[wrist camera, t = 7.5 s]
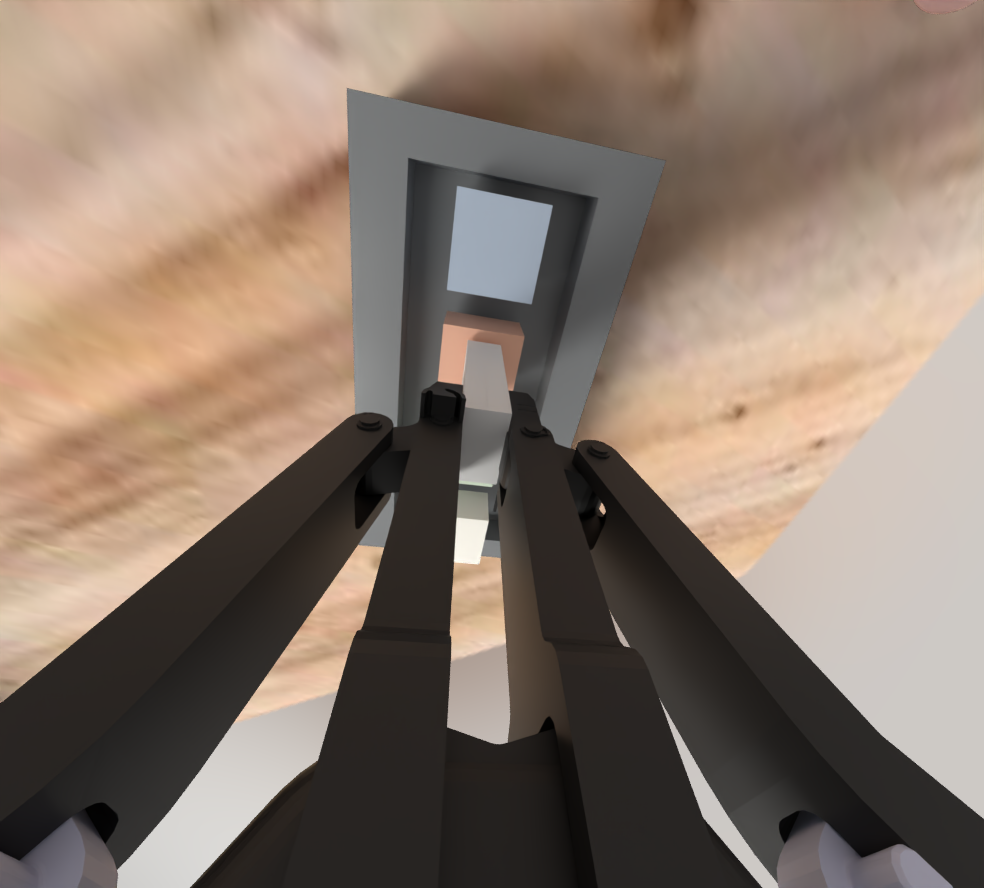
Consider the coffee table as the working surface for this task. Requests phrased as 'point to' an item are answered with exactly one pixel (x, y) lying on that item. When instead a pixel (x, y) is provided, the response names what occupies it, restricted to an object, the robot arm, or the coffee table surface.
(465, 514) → the key
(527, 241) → the key
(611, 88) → the coffee table surface
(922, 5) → the mug
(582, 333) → the gray rectangular tray
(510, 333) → the key
